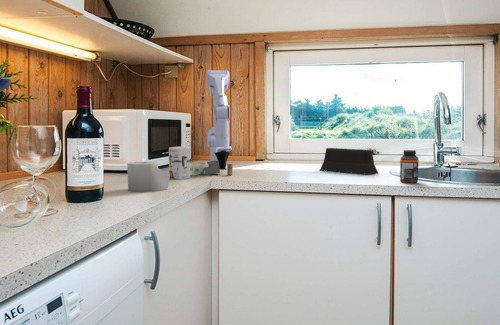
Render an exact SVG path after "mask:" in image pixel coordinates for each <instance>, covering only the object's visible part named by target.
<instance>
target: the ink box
mask: <svg viewBox="0 0 500 325" xmlns="http://www.w3.org/2000/svg"><path fill="white" fill-rule="evenodd" d="M190 150H191V149H190V147H189V146H172V147H168V168H169V169H168V170H169V172H168V173H169V174H170V178H171V179H175V180H176V179H177V180H185V179H187V180H188V179H191V168H190V167H191V164H190V162H191V161H190V160H191V159H190V158H191V154H190Z"/></svg>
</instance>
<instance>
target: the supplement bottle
mask: <svg viewBox="0 0 500 325" xmlns="http://www.w3.org/2000/svg"><path fill="white" fill-rule="evenodd" d="M416 153H417V150H415V149H404V150H403V154H402V156H401V157H400V171H399V180H400V182H401V183H404V184H416V183H418V181H419V157H418V156H417V155H416Z"/></svg>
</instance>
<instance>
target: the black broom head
mask: <svg viewBox="0 0 500 325" xmlns="http://www.w3.org/2000/svg"><path fill="white" fill-rule="evenodd" d="M323 159H324V160H323V162H322V165H321V167H320V168H319V171H320V172H329V173H340V174H341V173H342V174H350V175H352V174H353V175H360V176H361V175H363V176H371V175H376V174H379V172H378V170H377V168H376V165H375V161H374V155H373V150H372V149H363V148H362V149H360V148H359V149H358V148H357V149H356V148H340V147H339V148H337V147H327V148H325V153H324V158H323Z"/></svg>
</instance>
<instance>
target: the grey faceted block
mask: <svg viewBox="0 0 500 325" xmlns="http://www.w3.org/2000/svg"><path fill="white" fill-rule="evenodd" d="M208 162H209V164H210V167H204V171H205V173H204V175H205V176H208V175H215V174H220V173H221V171H220V170H221V169H220V168H219V161H218V160H216V161H211V160H209V161H208Z"/></svg>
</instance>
